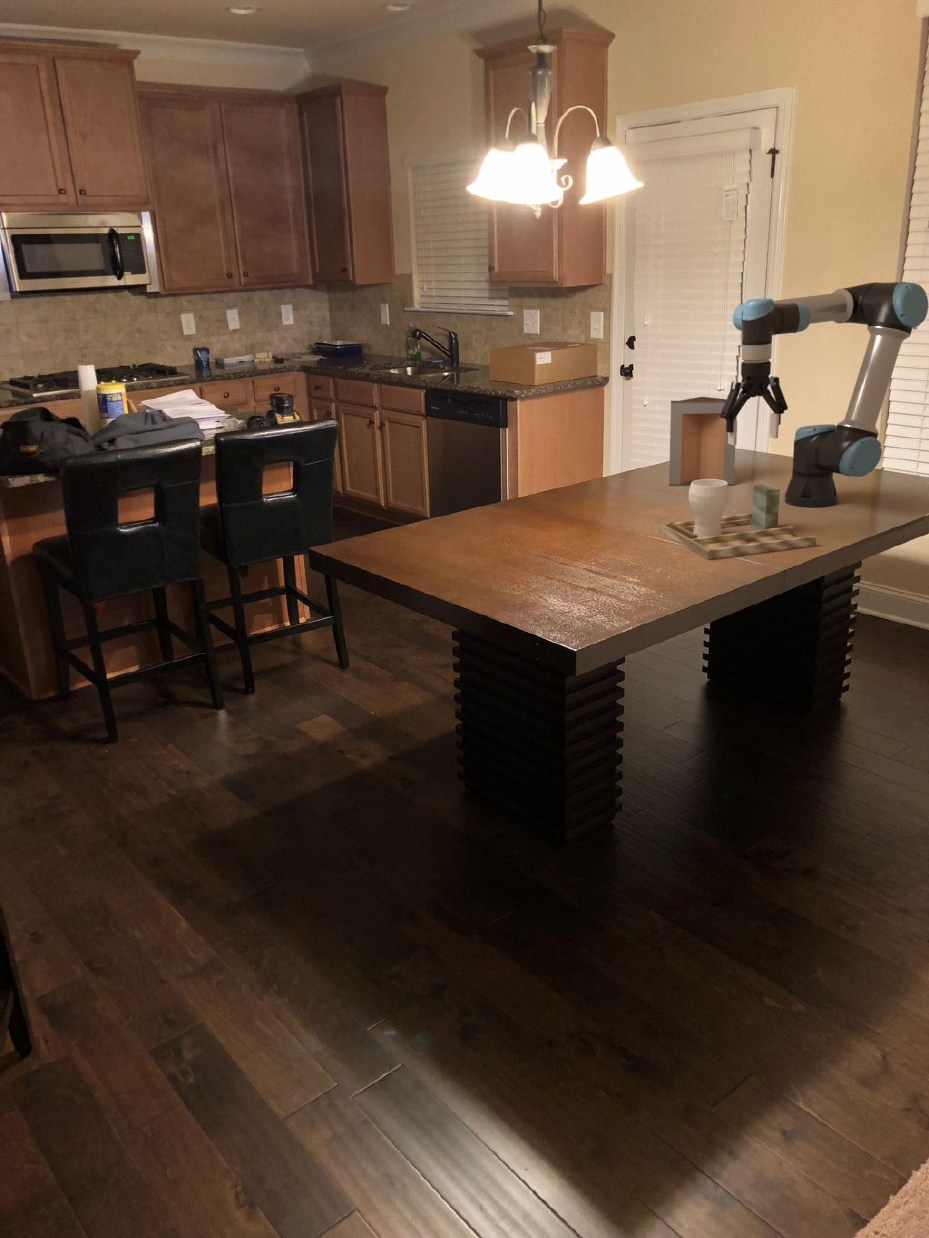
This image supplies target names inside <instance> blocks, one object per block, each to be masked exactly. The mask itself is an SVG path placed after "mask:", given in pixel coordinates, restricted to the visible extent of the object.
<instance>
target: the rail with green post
mask: <svg viewBox="0 0 929 1238" xmlns="http://www.w3.org/2000/svg"><path fill="white" fill-rule="evenodd" d="M752 488H753V489H752V502H751V503H752V504H751V505H752V506H751V508H752V509H751V513H752V518H749V519H741V520H732V521H724V522H721V523H720V524H721V529H724V528H725V529H726V528H730V527H732V528H733V527H738V526H747V525H751V528H752V529H754V530H755V531H757V530H765V529H772V528H779V527H778V525H779V511H780V510H779V509H780V496H781V489H780V488H778V487H776V486H774V485H771V484H769V483H763V484H753V487H752ZM675 523H676V522H672V521H671V522H668V524H669V527H670V528H671V529H673V530H675V531H677V532H679V533H681V534H683V535H684V536H686V537H688V538H690V539H693V538H698V535H696V534H694V533H693V531H694V527H695V525H692V526H684V527H681V526H679V525H677V524H675Z"/></svg>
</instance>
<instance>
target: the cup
mask: <svg viewBox="0 0 929 1238" xmlns="http://www.w3.org/2000/svg"><path fill="white" fill-rule="evenodd" d="M729 499H730V489H729V486H728V483H727V482H726V481H723V480H718V479H701V480H695V481H693V482H692V483H691V486H689V490H688V502H689V506H690V508H691V511H692V513H693V516H694V520H695V527H694V531H692V533H694V534H696V535H698V538H701V537H709V536H717V535H723V534H722V528H721V524H720V523H721V517H723V514H724V512H725V511H726V508H727V506H728V503H729Z"/></svg>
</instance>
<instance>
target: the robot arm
mask: <svg viewBox="0 0 929 1238" xmlns="http://www.w3.org/2000/svg"><path fill="white" fill-rule="evenodd" d="M928 311H929V298H928V296H927V292H926V290H925V289H924V288H923V287H922V285H920V284H918V283H915V282H906V281H900V282H897V281H896V282H895V281H894V282H868V283H864V284H858V285H853V286H849V287H844V288H838V289H835V290H833V292H832V293H826V294H818V295H808V296H800V297H794V298H785V299H778V300H773V299H772V298H756V299H755V298H752V299H747V300H745V302H743V303H741V304H738V306H736V307H735V309H734V311H733V314H732V324H733V326H734V327H735V328H736V330H738V331H741V333H742V335H741V336H742V338H741V339H742V340H741V341H742V342H741V360H742V362H741V364H740V376H741V381H731V384H730V391H729V392H728V395H727V397H726V399H727V400H726V402H725V405H724V407H723V409H722V412H721V414H720V417H721V418H723V419H726V421H727V423H726V426H727V427H726V431H727V432H728V444H731V445H735V446H737V441H738V439H737V437H738V420H734V419H735V418H736V416H737V417H738V415H739V414H740V412H741V411H742V409H743V408H744V406H745V404H746V402H747V401H748V400H750V399H751V398H756V397H762V398H763V399H764V401H765V402H766V404H767V405H768V406H769V408H770V410H771V411H772V413H770V414H769V415H770V418H769V438H772V439H778V438H779V428H780V427H779V426H780V425H781V422H782V421H781V420H782V419H781V418H782V415H783V414H784V413H785V411H788V409H789V407H788V404H787V402H786V399H785V395H784V393H783V391H782V388H781V386H780V377H778V376H774V375H771V371H772V370H771V369H772V362H771V361H770V360H771V359H772V348H773V347H772V346H773V336H778V335H787V334H797V333H800V332H803V331H805V330H807V329H808V328H809V326H810V325H812V324H819V323H827V322H834V323H835V324H857V325H866V326H867V327H866V329H867V331H868V333H869V334H870V335H869V340H868V343H867V347H866V349H865V353H864V356H863V358H862V362H861V366H860V369H859V372H858V374H857V377H856V381H855V383H854V384H855V385H854V387H853V391H852V393H851V398H850V400H849V402H848V407H847V411H846V413H845V416H844V419H843V420H842V421H840V422H838V423H837V424H831V423H829V424H827V423H826V424H816V425H815V424H813V425H806V426H801V427H799V428H797V429H796V431H795V433H794V440H793V455H792V471H791V472H792V473H791V474H792V475H791V477H790V481H789V483H788V485H787V488H786V491H785V492H784V502H785V503H786V504H788V505H793V506H797V507H806V508H807V507H808V508H818V507H819V508H820V507H821V508H822V507H829V506H833V505H835V504H837V502H838V492H837V490H836V489H837V488H836V484H835V480H834V477H833V476H834V474H839V475H843V476H845V477H856V478H862V477H864V476H867V475H869V473H872V472H873V471H874V470H875V468H876V467H877V466H878V464H879V463H880V461H881V458H882V455H883V453H882V452H883V449H882V444H881V441H880V440H879V439H878V436H879V435H880V432H879V430H878V429H877V427H876V425H877V422H878V419H879V416H880V412H881V409H882V407H883V403H884V400H885V397H886V394H887V391H888V387H889V385H890V382H891V378H892V375H893V372H894V368H895V365H896V362H897V359H898V358H899V357H898V356H899V353H900V351H901V346H902V344H903V341H905V340H906V339H908V338H910V337H911V335H912V331H913V328H916V327H919V326H920V325H921V324H922V323H924V321H925V320H926V318H927V315H928ZM770 375H771V376H770ZM769 386H770V389H771V391H770V389H769Z"/></svg>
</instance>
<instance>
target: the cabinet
mask: <svg viewBox="0 0 929 1238" xmlns="http://www.w3.org/2000/svg"><path fill="white" fill-rule="evenodd" d="M726 400H727V398H717V397H709V396H708V397H707V396H698V397H692V398H687V399H681V400H670V428H669V429H670V430H669V434H670V436H669V473H668V481H669V482H668V486H669V487H690V486H691V483H692V482H693V481H695V480H701V479H718V480H723V481H726V482H727V483H728V487H734V486H735V485H734V483H735V463H736V445H731V444H728V432H727V431H726V427H727V426H726V423H727V421H726V419H723V418H721V417H720V414H721V412H722V409H723V407H724V405H725V402H726ZM737 419H738V415H737V416H736V418H735V419H734V420H737ZM737 421H738V420H737Z"/></svg>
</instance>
